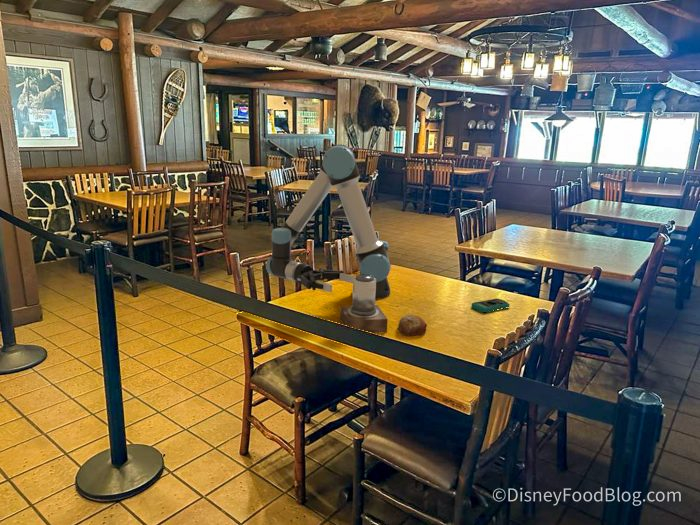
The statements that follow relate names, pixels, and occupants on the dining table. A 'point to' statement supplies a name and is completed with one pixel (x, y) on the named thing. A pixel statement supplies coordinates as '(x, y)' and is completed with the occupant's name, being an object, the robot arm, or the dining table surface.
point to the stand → (364, 320)
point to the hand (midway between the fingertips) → (343, 284)
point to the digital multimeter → (490, 305)
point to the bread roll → (412, 325)
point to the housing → (364, 295)
